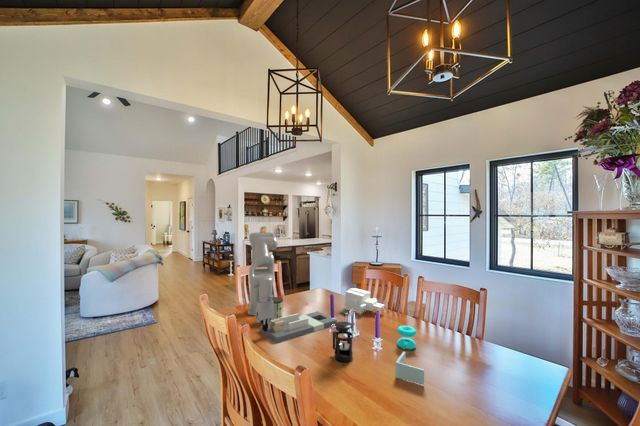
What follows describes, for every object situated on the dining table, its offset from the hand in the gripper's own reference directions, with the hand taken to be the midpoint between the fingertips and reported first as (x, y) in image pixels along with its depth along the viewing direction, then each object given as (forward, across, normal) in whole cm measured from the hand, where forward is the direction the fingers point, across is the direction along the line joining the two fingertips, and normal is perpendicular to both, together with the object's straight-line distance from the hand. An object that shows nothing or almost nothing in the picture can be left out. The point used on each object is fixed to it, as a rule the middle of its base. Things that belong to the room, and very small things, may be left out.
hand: (265, 330), depth 164 cm
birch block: (+1, -8, 0) cm, 8 cm away
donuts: (+4, -57, +56) cm, 80 cm away
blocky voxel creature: (+4, -81, +4) cm, 81 cm away
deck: (+4, -24, 0) cm, 25 cm away
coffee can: (+4, -18, -20) cm, 27 cm away
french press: (+4, -20, +44) cm, 49 cm away
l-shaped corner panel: (+5, -34, +74) cm, 82 cm away
